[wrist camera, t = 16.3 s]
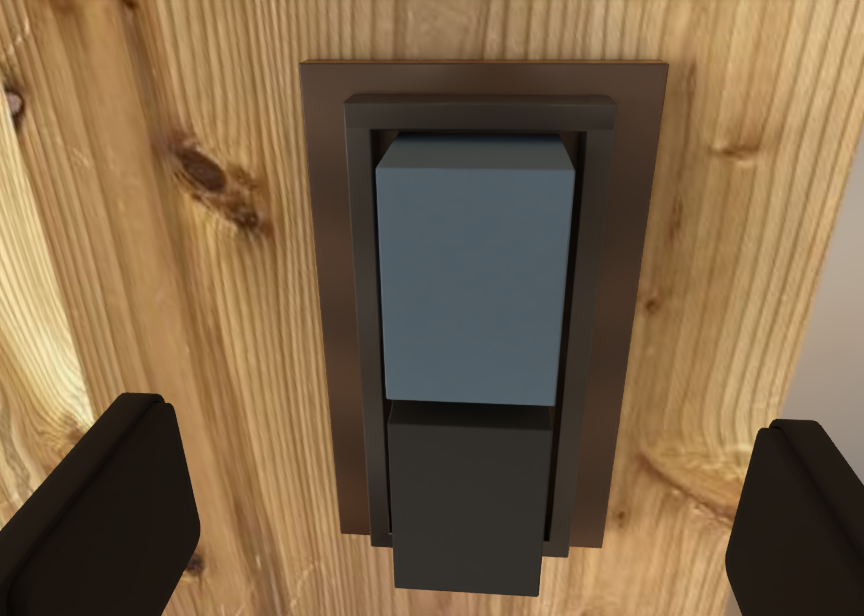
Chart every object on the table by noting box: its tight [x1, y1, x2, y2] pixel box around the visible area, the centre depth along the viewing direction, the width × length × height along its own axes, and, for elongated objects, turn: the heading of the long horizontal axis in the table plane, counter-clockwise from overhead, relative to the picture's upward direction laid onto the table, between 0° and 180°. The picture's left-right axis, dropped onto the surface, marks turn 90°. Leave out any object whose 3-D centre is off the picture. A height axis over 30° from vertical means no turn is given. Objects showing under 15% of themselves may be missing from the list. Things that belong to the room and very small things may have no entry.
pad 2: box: [387, 400, 553, 597], centre depth 24 cm, size 7×5×4 cm
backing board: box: [299, 60, 669, 558], centre depth 24 cm, size 19×11×2 cm, turn 0°
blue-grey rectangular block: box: [376, 132, 575, 406], centre depth 20 cm, size 7×5×4 cm
